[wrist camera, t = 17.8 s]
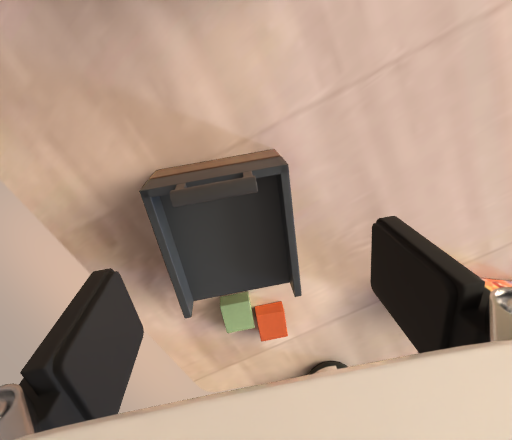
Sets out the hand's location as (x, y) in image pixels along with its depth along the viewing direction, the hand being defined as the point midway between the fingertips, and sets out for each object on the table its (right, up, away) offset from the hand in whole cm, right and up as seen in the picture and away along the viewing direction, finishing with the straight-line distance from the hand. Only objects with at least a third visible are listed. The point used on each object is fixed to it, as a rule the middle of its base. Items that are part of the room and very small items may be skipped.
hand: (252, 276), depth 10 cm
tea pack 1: (-2, -11, +29) cm, 31 cm away
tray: (-3, 0, +22) cm, 22 cm away
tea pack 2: (+2, -13, +30) cm, 33 cm away
